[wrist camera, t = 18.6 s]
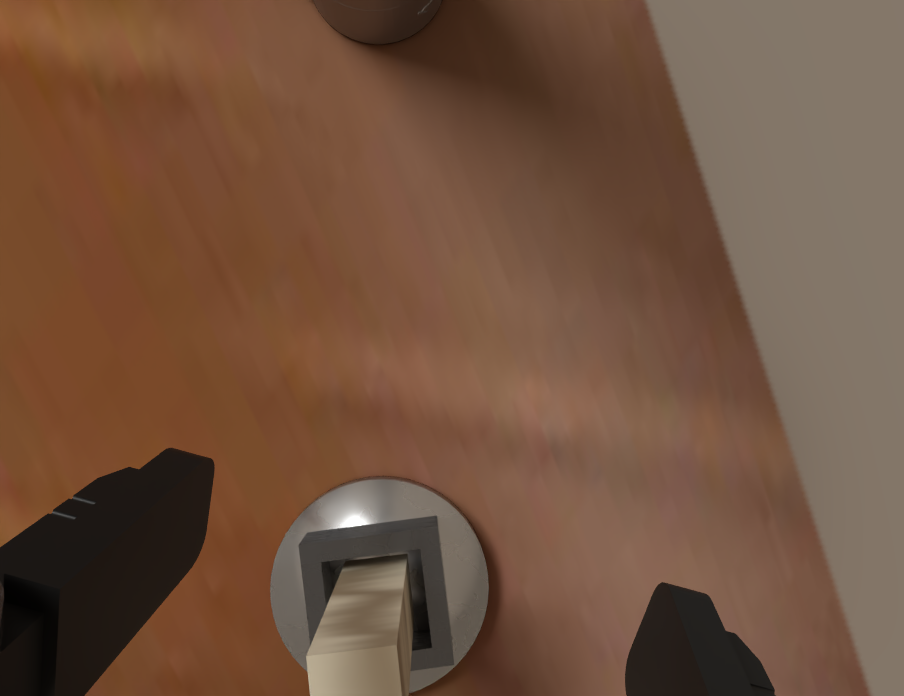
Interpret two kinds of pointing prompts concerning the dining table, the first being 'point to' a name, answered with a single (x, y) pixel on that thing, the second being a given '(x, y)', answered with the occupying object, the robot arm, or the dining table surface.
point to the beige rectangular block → (365, 632)
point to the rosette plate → (376, 535)
